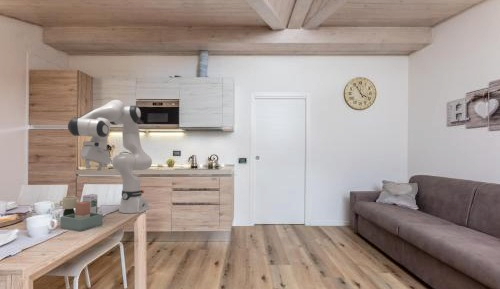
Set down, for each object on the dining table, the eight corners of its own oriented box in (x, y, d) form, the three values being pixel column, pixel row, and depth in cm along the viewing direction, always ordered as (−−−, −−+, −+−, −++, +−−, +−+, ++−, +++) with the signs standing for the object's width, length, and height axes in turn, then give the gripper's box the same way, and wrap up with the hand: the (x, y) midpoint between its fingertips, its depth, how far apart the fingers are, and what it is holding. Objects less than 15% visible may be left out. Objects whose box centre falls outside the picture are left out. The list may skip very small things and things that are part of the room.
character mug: (81, 217, 173) (82, 196, 173) (76, 220, 166) (77, 198, 166) (61, 217, 172) (63, 196, 172) (55, 220, 165) (56, 198, 165)
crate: (83, 222, 164) (83, 211, 164) (102, 224, 160) (102, 214, 160) (60, 228, 151) (60, 216, 151) (80, 231, 147) (81, 219, 147)
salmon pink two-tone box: (82, 223, 159) (83, 201, 159) (89, 224, 157) (90, 202, 157) (74, 225, 154) (75, 202, 154) (81, 226, 152) (82, 203, 152)
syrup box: (90, 220, 168) (91, 195, 169) (81, 219, 170) (82, 195, 170) (97, 218, 174) (98, 194, 174) (88, 217, 175) (89, 193, 175)
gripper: (104, 150, 175) (100, 172, 172) (81, 141, 156) (75, 166, 152) (114, 150, 174) (109, 172, 171) (91, 141, 155) (86, 166, 151)
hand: (93, 169), depth 161 cm, fingers open, 8 cm apart
